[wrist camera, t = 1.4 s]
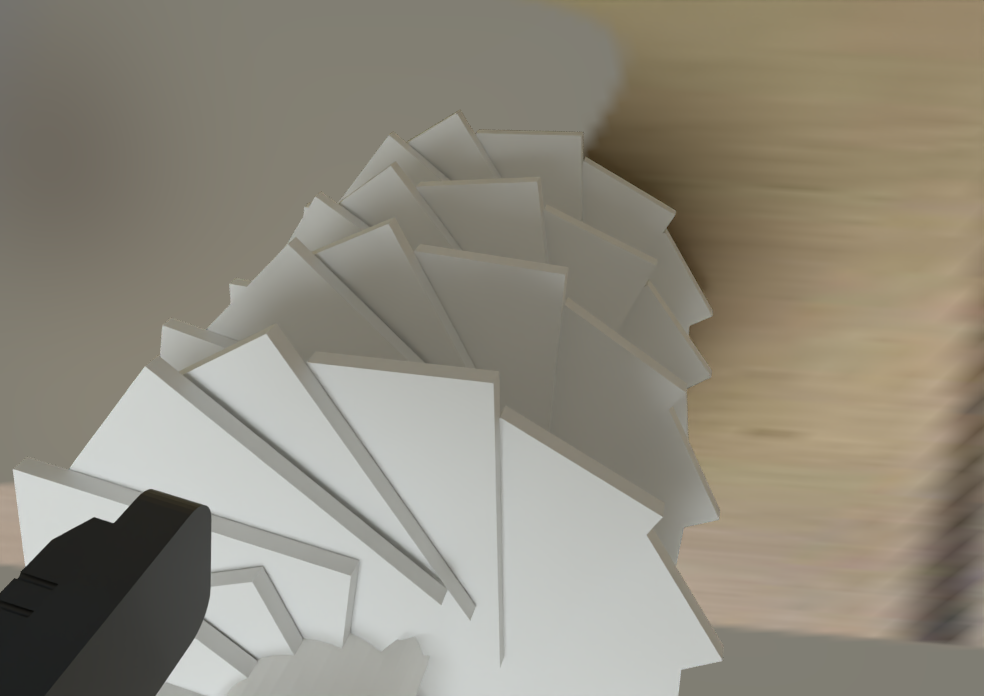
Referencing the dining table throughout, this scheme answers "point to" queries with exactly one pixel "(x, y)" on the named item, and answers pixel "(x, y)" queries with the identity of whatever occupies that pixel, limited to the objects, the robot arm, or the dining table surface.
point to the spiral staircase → (431, 438)
